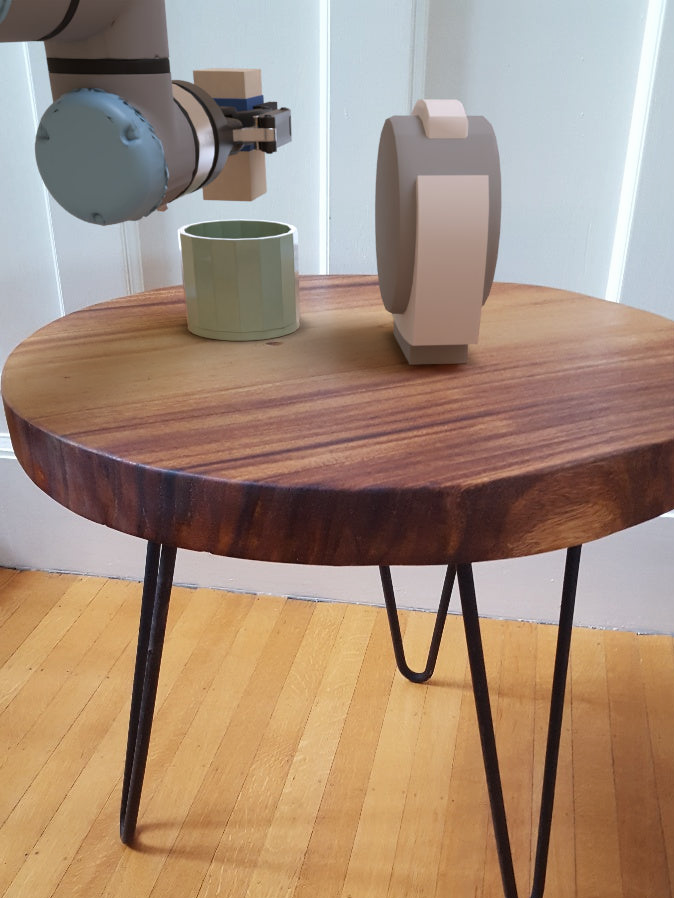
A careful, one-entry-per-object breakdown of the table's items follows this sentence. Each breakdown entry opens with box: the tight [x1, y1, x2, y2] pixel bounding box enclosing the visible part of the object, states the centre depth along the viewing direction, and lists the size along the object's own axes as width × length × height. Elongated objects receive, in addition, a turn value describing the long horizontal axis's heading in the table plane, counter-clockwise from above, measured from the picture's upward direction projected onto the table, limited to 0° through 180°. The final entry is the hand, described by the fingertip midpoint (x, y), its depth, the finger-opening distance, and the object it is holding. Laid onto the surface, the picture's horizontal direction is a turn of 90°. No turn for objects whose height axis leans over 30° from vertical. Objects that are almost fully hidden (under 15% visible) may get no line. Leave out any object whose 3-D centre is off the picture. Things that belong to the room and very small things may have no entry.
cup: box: [177, 218, 301, 342], centre depth 94 cm, size 11×11×9 cm
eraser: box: [192, 67, 268, 202], centre depth 86 cm, size 5×6×10 cm
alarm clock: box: [374, 98, 502, 366], centre depth 85 cm, size 18×8×20 cm, turn 7°
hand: (245, 117), depth 90 cm, fingers closed on eraser, 5 cm apart
